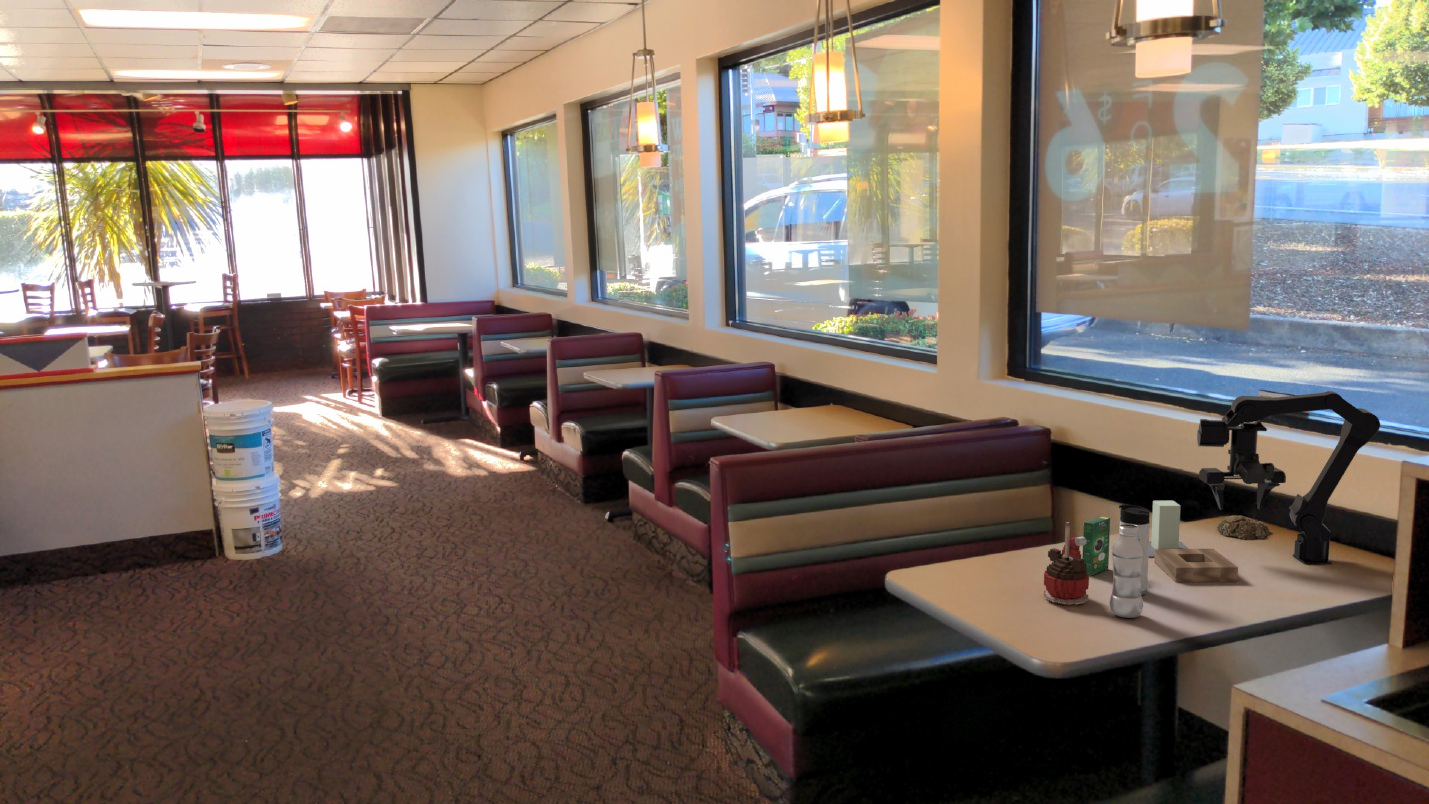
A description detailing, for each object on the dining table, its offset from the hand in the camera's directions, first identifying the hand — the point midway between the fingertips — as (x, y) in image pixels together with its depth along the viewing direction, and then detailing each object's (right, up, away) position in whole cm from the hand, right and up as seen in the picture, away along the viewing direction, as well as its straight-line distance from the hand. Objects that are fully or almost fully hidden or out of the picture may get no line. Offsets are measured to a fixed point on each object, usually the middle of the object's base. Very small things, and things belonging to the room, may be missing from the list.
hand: (1240, 509), depth 256 cm
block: (-15, -11, +8) cm, 20 cm away
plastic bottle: (-42, -20, -34) cm, 58 cm away
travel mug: (-35, -17, -20) cm, 44 cm away
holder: (-15, -14, -9) cm, 23 cm away
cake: (-51, -18, -24) cm, 60 cm away
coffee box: (-38, -15, -6) cm, 41 cm away
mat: (-15, -11, +8) cm, 21 cm away
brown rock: (+11, -9, +20) cm, 25 cm away
